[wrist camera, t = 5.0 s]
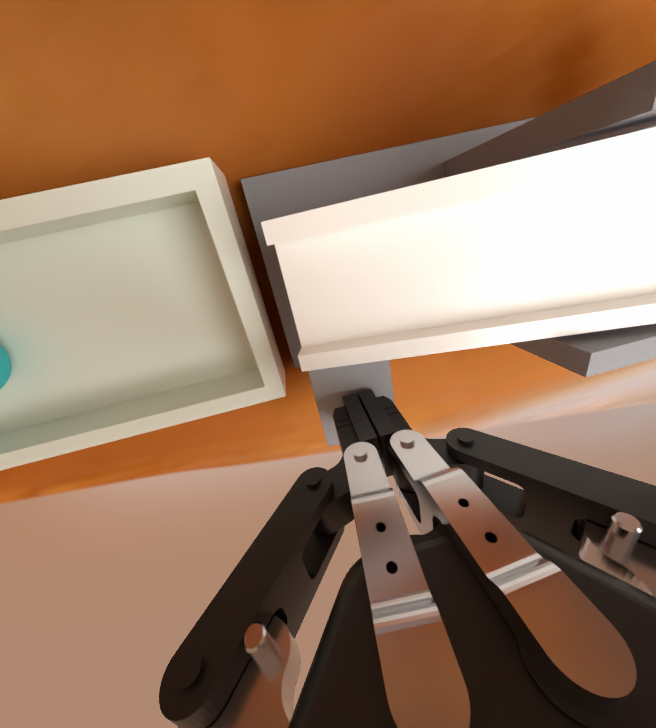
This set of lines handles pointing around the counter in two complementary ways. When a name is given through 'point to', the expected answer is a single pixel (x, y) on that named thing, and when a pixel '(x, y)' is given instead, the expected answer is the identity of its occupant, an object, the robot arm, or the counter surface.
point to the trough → (471, 263)
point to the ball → (4, 367)
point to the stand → (461, 155)
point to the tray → (127, 311)
